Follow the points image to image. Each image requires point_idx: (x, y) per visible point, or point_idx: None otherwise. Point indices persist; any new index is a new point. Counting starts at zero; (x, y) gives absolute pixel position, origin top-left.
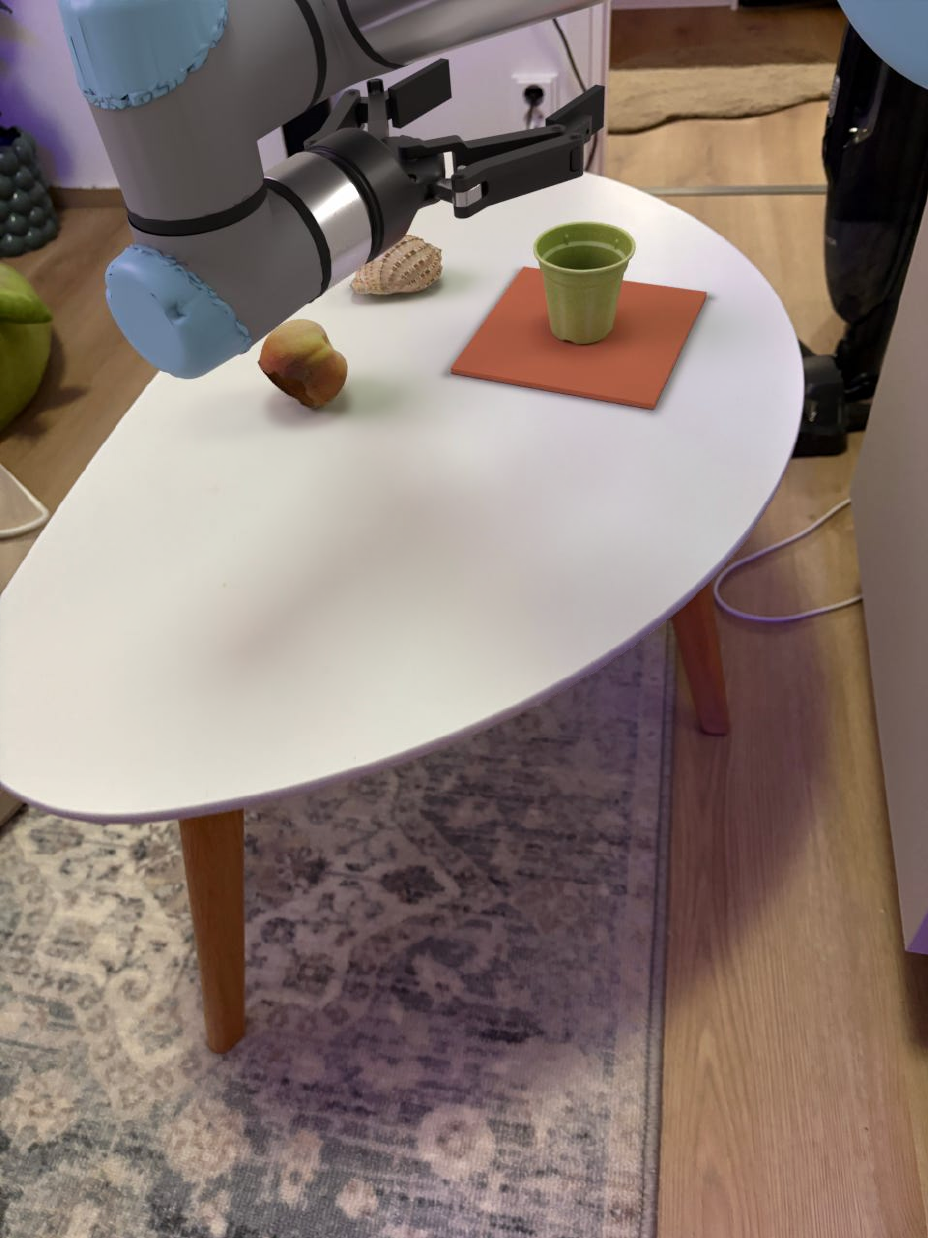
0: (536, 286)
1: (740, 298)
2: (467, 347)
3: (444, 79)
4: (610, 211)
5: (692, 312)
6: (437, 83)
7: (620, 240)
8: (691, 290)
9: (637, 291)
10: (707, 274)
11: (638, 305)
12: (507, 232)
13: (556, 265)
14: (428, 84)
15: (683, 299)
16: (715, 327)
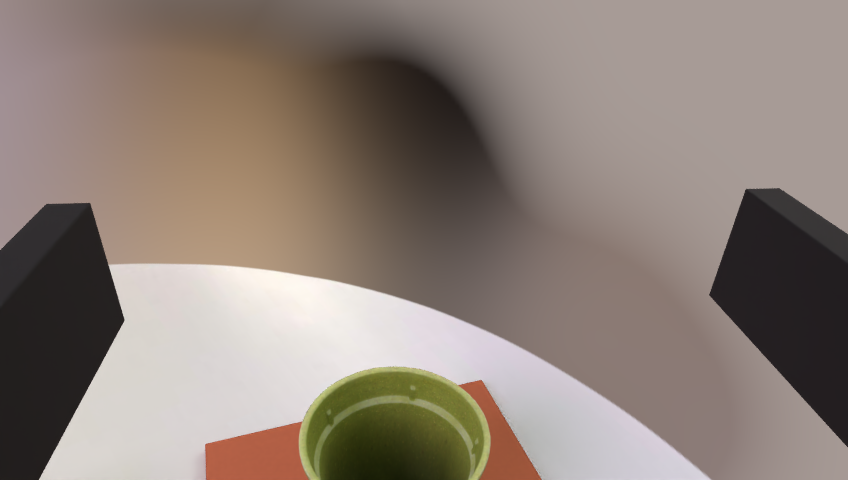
0: (254, 477)
1: (515, 370)
2: None
3: (92, 279)
4: (260, 302)
5: (501, 422)
6: (70, 308)
7: (420, 386)
8: (463, 385)
9: None
10: (448, 350)
11: None
12: (134, 384)
13: (327, 465)
14: (36, 338)
15: None
16: (539, 430)
